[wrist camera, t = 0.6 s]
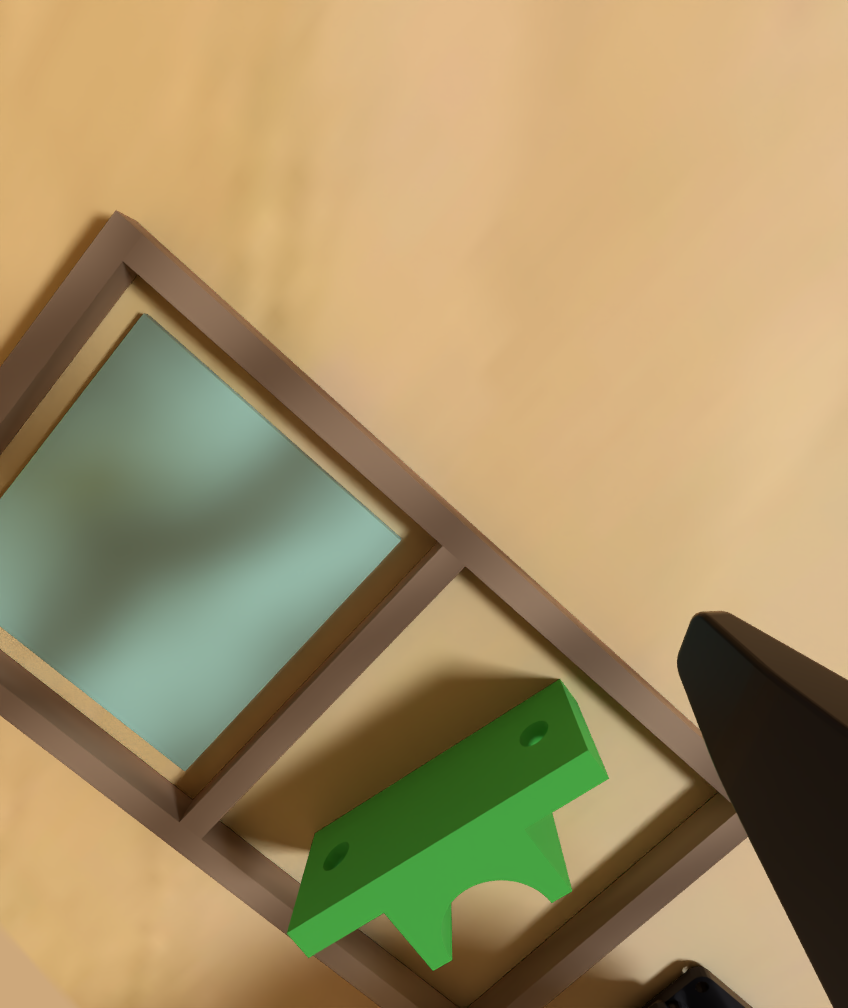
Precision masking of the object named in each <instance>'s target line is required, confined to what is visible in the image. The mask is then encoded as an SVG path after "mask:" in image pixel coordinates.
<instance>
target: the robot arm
mask: <svg viewBox="0 0 848 1008" xmlns="http://www.w3.org/2000/svg"><path fill="white" fill-rule="evenodd" d="M677 668H678V672H679V676H680V678H681V681H682V684H683V686H684V689H685V691H686V694H687V697H688V699H689V702H690V705H691V707H692V710H693V712H694V715H695V718H696V720H697V723H698V725H699V728H700V731H701V733H702V736H703V739H704V741H705V744H706V746H707V749H708V752H709V754H710V757H711V759H712V762H713V764H714V767H715V769H716V771H717V774H718V776H719V778H720V781H721V783H722V785H723V787H724V789H725V791H726V793H727V795H728V797H729V799H730V801H731V803H732V805H733V807H734V809H735V811H736V813H737V815H738V817H739V820H740V822H741V824H742V826H743V828H744V830H745V832H746V834H747V836H748V838H749V840H750V842H751V844H752V846H753V848H754V850H755V852H756V854H757V856H758V858H759V860H760V862H761V864H762V866H763V868H764V870H765V872H766V874H767V876H768V878H769V880H770V882H771V884H772V886H773V888H774V890H775V892H776V894H777V896H778V898H779V900H780V902H781V904H782V906H783V908H784V910H785V912H786V914H787V916H788V918H789V920H790V922H791V924H792V926H793V928H794V930H795V932H796V934H797V936H798V938H799V940H800V942H801V944H802V946H803V948H804V950H805V952H806V954H807V956H808V958H809V960H810V962H811V964H812V966H813V968H814V970H815V972H816V974H817V976H818V978H819V980H820V982H821V984H822V986H823V988H824V990H825V992H826V994H827V996H828V998H829V1000H830V1002H831V1004H832V1006H833V1008H848V680H847V679H845V678H843V677H842V676H840V675H838V674H836V673H834V672H833V671H831V670H829V669H827V668H826V667H824V666H822V665H820V664H819V663H817V662H815V661H813V660H812V659H810V658H808V657H806V656H805V655H803V654H801V653H799V652H798V651H796V650H794V649H792V648H790V647H789V646H787V645H785V644H783V643H782V642H780V641H778V640H776V639H775V638H773V637H771V636H769V635H768V634H766V633H764V632H762V631H761V630H759V629H757V628H755V627H754V626H752V625H750V624H748V623H746V622H745V621H743V620H741V619H739V618H738V617H736V616H734V615H732V614H730V613H728V612H725V611H708V612H699V613H696V614H695V615H694V616H693V617H692V619H691V621H690V624H689V627H688V629H687V632H686V635H685V637H684V640H683V642H682V645H681V648H680V650H679V653H678V658H677ZM642 1008H752V1007H751V1006H750V1005H749V1004H748V1003H746V1002H745V1001H744V1000H743V999H742V998H741V997H739V996H738V995H737V994H736V993H735V992H733V991H732V990H731V989H730V988H729V987H727V986H726V985H725V984H724V983H723V982H722V981H720V980H719V979H718V978H717V977H716V976H714V975H713V974H712V973H711V972H710V971H708V970H707V969H705V968H704V967H693V968H691V969H689V970H688V971H687V972H686V973H684V974H683V975H682V976H681V977H679V978H678V979H677V980H676V981H674V982H673V983H672V984H671V985H669V986H668V987H667V988H666V989H664V990H663V991H662V992H661V993H659V994H658V995H657V996H656V997H654V998H653V999H652V1000H651V1001H649V1002H648V1003H647V1004H646V1005H645V1006H643V1007H642Z"/></svg>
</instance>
